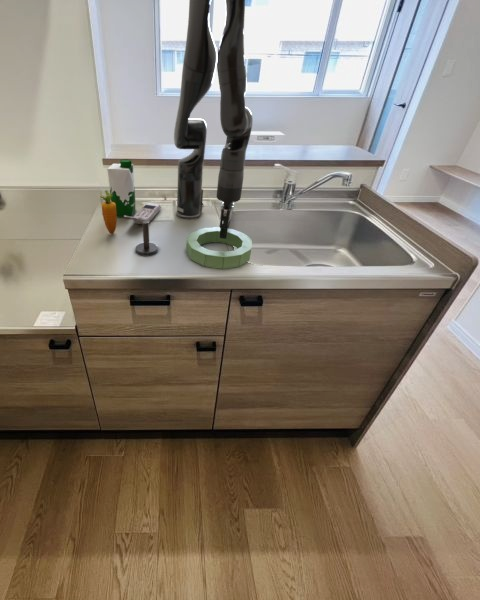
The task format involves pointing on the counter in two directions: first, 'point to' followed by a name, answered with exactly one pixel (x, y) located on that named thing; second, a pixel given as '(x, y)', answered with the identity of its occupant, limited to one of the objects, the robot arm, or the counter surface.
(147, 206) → the mobile phone
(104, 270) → the counter surface
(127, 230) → the counter surface
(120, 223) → the counter surface
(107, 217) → the carrot
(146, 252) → the peg stand
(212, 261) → the ring
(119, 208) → the milk carton
